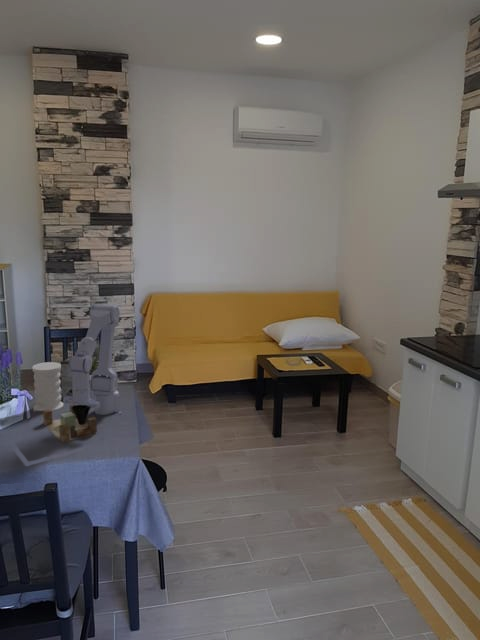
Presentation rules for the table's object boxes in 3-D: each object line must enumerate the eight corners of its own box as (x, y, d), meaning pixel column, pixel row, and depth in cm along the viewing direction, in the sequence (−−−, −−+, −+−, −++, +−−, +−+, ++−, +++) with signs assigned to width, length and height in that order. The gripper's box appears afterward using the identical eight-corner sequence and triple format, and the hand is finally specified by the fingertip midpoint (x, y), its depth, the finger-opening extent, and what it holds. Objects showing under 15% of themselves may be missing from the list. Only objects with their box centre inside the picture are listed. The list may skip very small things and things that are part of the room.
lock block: (71, 421, 187) (71, 411, 186) (75, 425, 184) (75, 415, 183) (60, 424, 185) (60, 414, 184) (64, 427, 182) (64, 417, 181)
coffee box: (71, 390, 223) (69, 356, 220) (84, 391, 223) (83, 357, 219) (61, 397, 215) (59, 361, 211) (75, 398, 214) (74, 362, 210)
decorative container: (35, 404, 206) (32, 362, 203) (64, 402, 209) (62, 361, 206) (31, 414, 195) (29, 371, 192) (62, 412, 198) (61, 369, 195)
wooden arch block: (77, 437, 174) (76, 423, 173) (74, 434, 176) (74, 421, 175) (96, 432, 178) (96, 418, 177) (94, 429, 180) (93, 416, 179)
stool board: (76, 418, 194) (76, 403, 192) (98, 436, 179) (97, 420, 177) (42, 425, 186) (42, 410, 184) (62, 445, 170) (61, 428, 169)
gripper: (56, 388, 176) (58, 424, 179) (90, 394, 172) (92, 431, 174) (70, 382, 183) (71, 417, 186) (103, 388, 178) (104, 424, 181)
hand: (82, 423), depth 180 cm, fingers closed
